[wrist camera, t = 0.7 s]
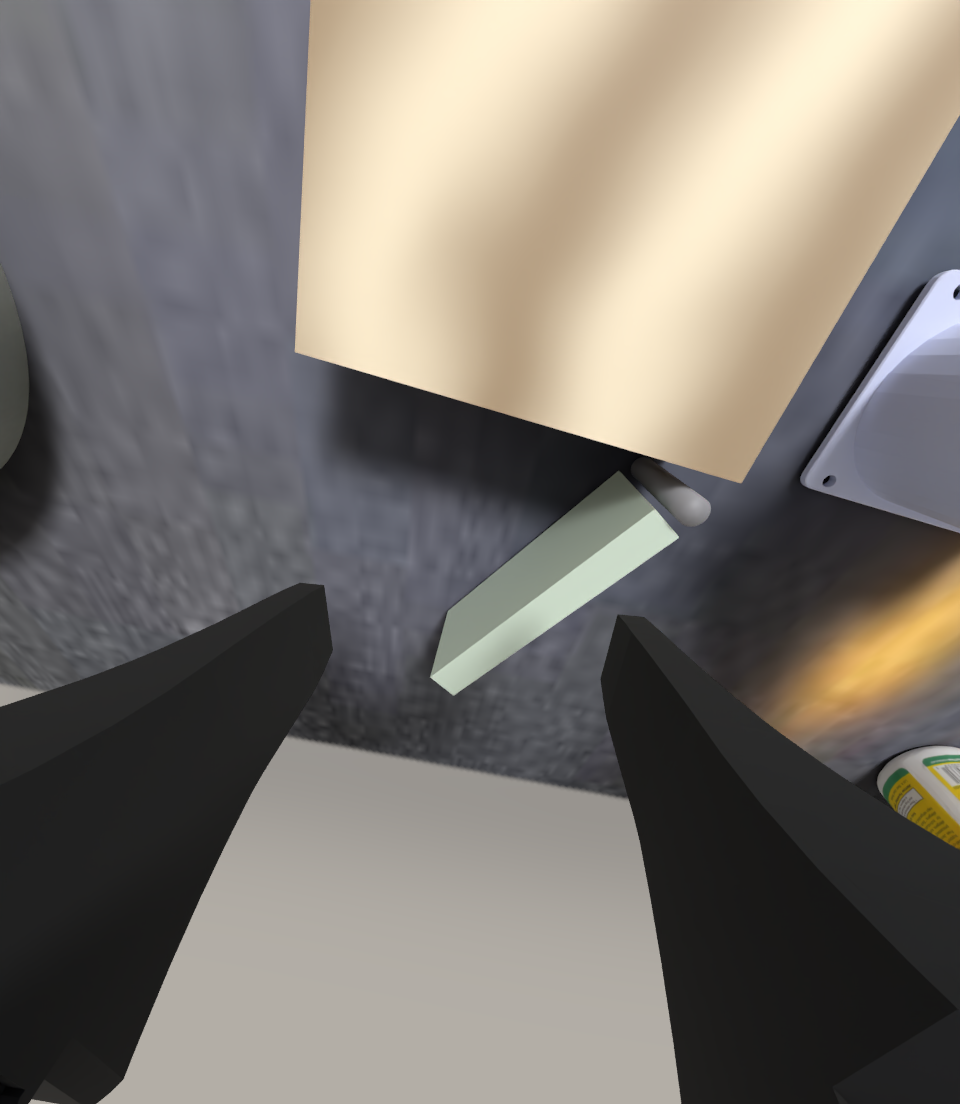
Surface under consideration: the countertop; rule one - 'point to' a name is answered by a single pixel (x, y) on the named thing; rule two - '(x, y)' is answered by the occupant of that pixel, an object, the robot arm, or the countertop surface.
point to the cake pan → (11, 374)
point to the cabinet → (610, 200)
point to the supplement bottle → (926, 789)
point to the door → (563, 571)
